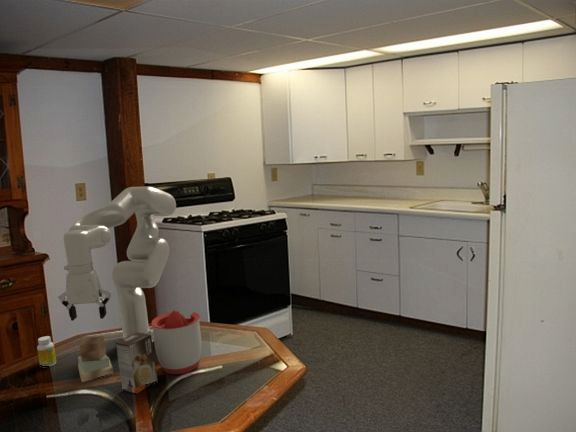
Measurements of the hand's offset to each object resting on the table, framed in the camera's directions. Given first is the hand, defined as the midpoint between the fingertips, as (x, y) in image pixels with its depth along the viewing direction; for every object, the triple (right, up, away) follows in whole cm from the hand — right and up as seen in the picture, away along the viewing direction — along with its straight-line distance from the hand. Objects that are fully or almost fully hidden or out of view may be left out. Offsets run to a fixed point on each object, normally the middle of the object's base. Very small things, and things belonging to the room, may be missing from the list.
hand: (88, 318), depth 179 cm
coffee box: (+19, -20, -9) cm, 29 cm away
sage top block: (+1, -16, +3) cm, 17 cm away
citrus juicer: (+30, -17, +3) cm, 35 cm away
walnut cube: (+1, -13, +2) cm, 14 cm away
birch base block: (+1, -19, +3) cm, 20 cm away
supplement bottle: (-19, -19, +12) cm, 29 cm away
